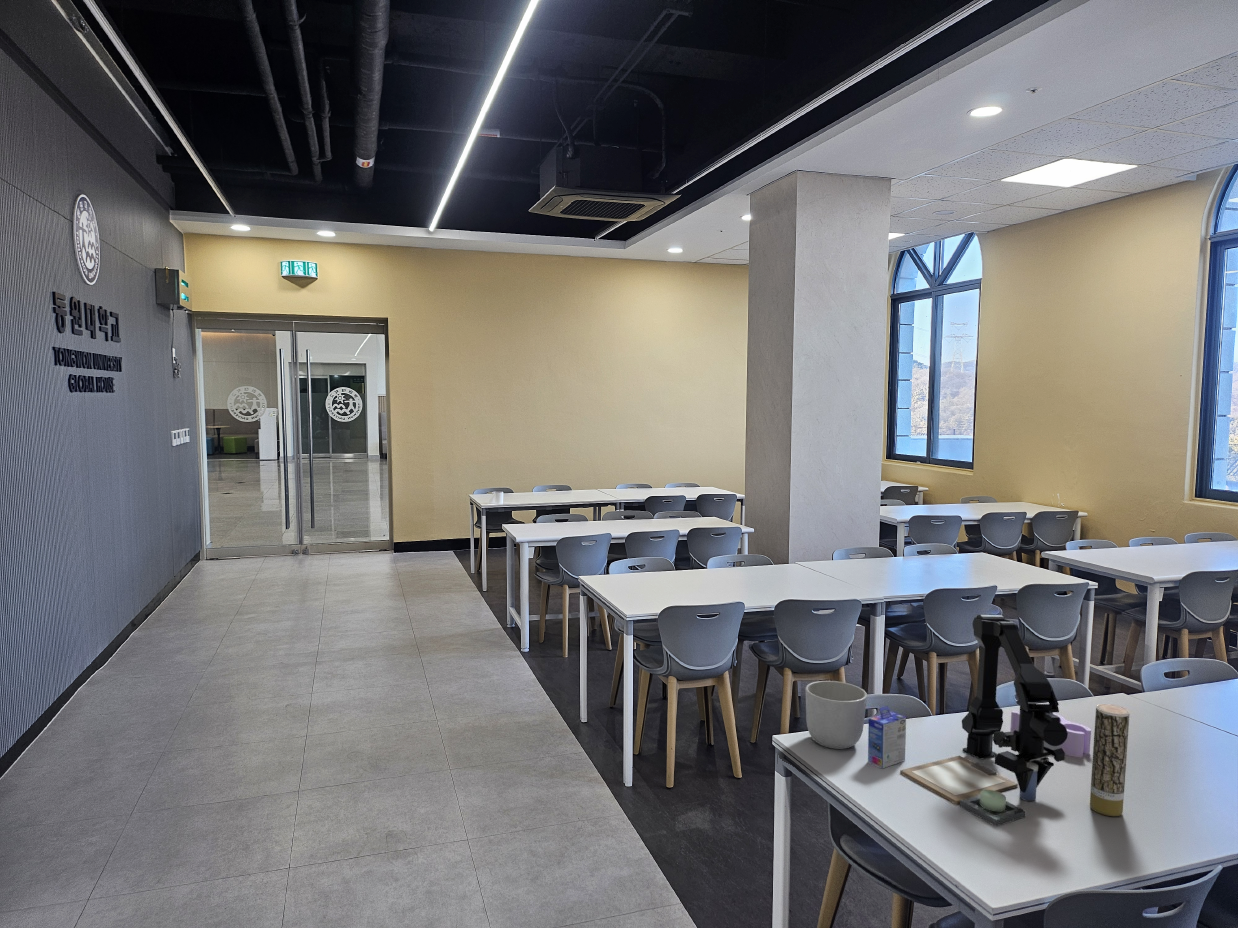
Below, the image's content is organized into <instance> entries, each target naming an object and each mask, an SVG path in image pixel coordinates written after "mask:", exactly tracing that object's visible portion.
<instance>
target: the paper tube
mask: <svg viewBox="0 0 1238 928" xmlns="http://www.w3.org/2000/svg"><path fill="white" fill-rule="evenodd" d="M1129 726H1130V711H1129V710H1128V709H1127V708H1124V707H1123V706H1119V705H1115V704H1109V703H1099V704H1097V705H1096V707H1095V718H1094V733H1093V747H1092V749H1093V751H1092V760H1091V761H1092V764H1091V777H1090V778H1091V780H1090V792H1089V793H1090V795H1089V797H1090V798H1089V805H1090V806H1089V807H1090V808H1091V809H1092V810H1093V811H1095V812H1096V813H1098V814H1100V815H1104V816H1108V817H1119V816H1121V815H1123V811H1124V798H1125V785H1126V783H1125V782H1126V770H1127V758H1128V754H1127V753H1128V743H1129V742H1128V741H1129Z"/></svg>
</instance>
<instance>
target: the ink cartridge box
mask: <svg viewBox="0 0 1238 928" xmlns="http://www.w3.org/2000/svg"><path fill="white" fill-rule="evenodd" d="M878 710H879V713H880V714H879V715H877V716H876V715H875V716H873V717H869V718H868V728H867V729H868V732H867V733H868V734H867V735H868V739H867V740H868V741H867V744H868V745H867V762H868V763H870V764H872V765H874V766H876V767H878V768H880V769H884V768H888V767H890V766H894V765H896V764H898V763H901V762H904V761H906V743H907V742H906V737H907V733H906V732H907V717H906V716H904V715H902V714H899V713H896V712H894V711H891V710H890V708H889V706H888V705H887V706H884V707H883V706H882V707H879V708H878ZM884 710H885V711H887V712H885V713H883V712H884Z"/></svg>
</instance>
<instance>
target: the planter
mask: <svg viewBox="0 0 1238 928" xmlns="http://www.w3.org/2000/svg"><path fill="white" fill-rule="evenodd" d="M867 701H868V693H867V692H866V691H865V689H863V688H861V687H860V686H857V685H854V684H852V683H848V682H843V681H836V680H818V681H813V682H810V683H808V684H807V685H806V686H805V715H806V720H805V721H806V726H807V727H806V728H807V730H808V733H809V735H810V736H811V738H812V740H814V742H816V743H817V744H819V745H820V746H823V747H825V748H828V749H835V750H844V749H849V748H851V747H853V746H855V745H856V744H857V743H858V742H859V741H860V739H861V737H862V735H863V732H864V725H865V717H866V709H867V708H866V707H867Z"/></svg>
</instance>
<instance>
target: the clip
mask: <svg viewBox="0 0 1238 928" xmlns="http://www.w3.org/2000/svg"><path fill="white" fill-rule="evenodd" d="M1010 713H1011V715H1010V729H1009V730H1010V731H1009V732H1014V730H1017V729H1019V714H1020V711H1017V710H1011V712H1010ZM1053 714H1054V715H1057V716H1058V717H1060V723H1062V724H1063V725H1064V726H1065V727H1066V729H1067V732H1068V736H1067V739H1066V741H1065V742H1064V743H1063V744H1061V745H1059V746H1058V747H1061V748H1062V749H1063V751H1064V752H1065V756H1066V755H1067V756H1070V757H1074V758H1083V757H1084V754H1086V755H1090V754H1091V752H1090V751H1091V738H1092V729H1091V728H1089V727H1088V726H1087V725H1084V724H1081V723H1077V722H1073V721H1069V720H1067V719H1065V717H1063V716H1062V715H1060V714H1058V713H1056V712H1053Z"/></svg>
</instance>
